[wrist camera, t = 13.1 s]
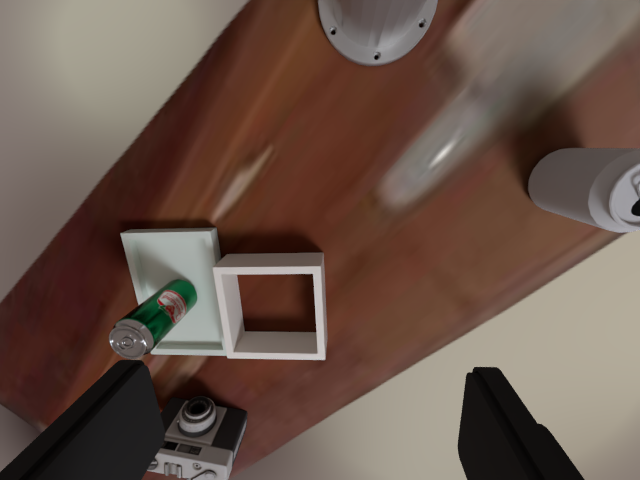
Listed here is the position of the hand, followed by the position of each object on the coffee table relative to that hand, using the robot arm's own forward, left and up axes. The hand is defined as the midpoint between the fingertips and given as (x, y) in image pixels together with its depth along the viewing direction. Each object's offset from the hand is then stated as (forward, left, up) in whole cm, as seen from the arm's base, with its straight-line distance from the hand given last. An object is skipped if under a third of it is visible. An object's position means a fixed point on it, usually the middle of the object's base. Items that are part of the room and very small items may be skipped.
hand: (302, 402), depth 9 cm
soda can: (+13, -23, -32) cm, 41 cm away
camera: (+35, -23, -33) cm, 53 cm away
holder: (+14, -9, -32) cm, 36 cm away
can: (-2, +27, -32) cm, 42 cm away
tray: (+13, -23, -32) cm, 42 cm away
